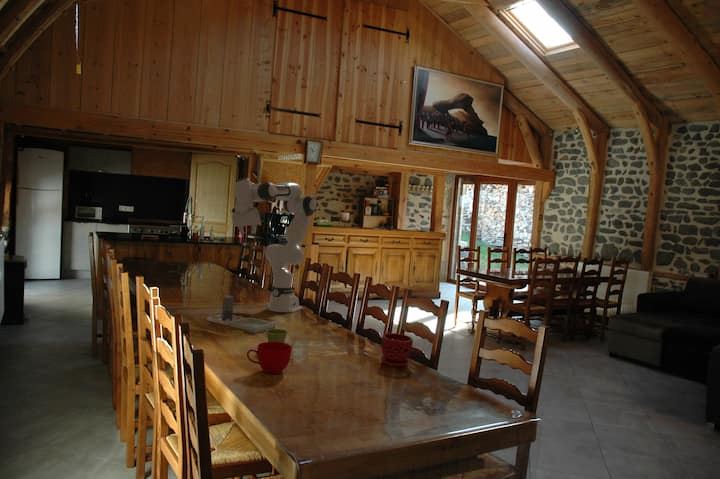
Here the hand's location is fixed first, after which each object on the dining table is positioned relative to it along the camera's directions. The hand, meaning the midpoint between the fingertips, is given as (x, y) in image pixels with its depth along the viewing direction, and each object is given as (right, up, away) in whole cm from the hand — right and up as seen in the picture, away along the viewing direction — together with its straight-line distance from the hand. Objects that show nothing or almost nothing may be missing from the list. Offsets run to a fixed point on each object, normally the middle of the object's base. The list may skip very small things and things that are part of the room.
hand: (247, 234), depth 292 cm
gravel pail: (-9, -45, -9) cm, 47 cm away
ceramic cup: (+25, -54, -83) cm, 102 cm away
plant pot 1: (+23, -52, -54) cm, 79 cm away
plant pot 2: (+75, -56, -60) cm, 111 cm away
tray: (-9, -46, -9) cm, 48 cm away
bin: (+6, -48, -17) cm, 51 cm away
